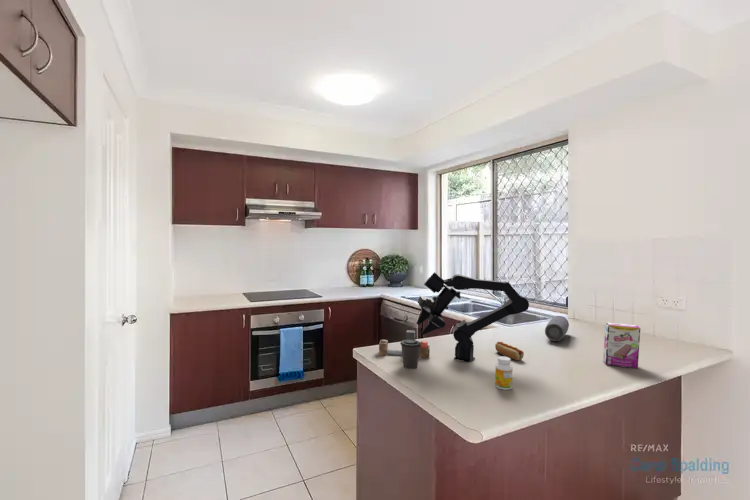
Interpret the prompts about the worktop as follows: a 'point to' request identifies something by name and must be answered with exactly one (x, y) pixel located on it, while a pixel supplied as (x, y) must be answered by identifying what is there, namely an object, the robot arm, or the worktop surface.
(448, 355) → the worktop surface
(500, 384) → the supplement bottle
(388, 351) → the handrail
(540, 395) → the worktop surface
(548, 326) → the bluetooth speaker
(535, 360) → the worktop surface
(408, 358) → the coffee cup
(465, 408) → the worktop surface
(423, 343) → the gauge button
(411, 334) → the plate
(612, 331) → the candy bar box
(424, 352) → the cabinet
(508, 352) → the food
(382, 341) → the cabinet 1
